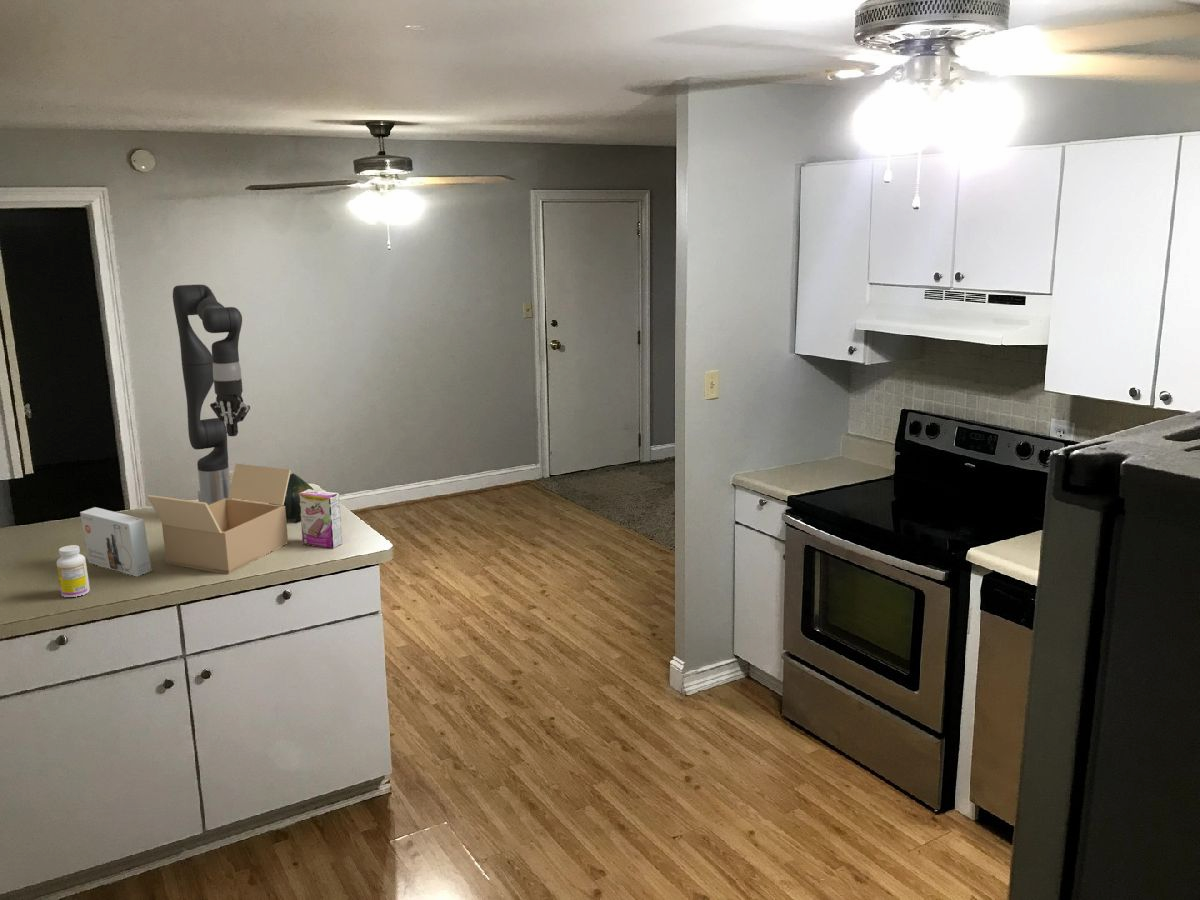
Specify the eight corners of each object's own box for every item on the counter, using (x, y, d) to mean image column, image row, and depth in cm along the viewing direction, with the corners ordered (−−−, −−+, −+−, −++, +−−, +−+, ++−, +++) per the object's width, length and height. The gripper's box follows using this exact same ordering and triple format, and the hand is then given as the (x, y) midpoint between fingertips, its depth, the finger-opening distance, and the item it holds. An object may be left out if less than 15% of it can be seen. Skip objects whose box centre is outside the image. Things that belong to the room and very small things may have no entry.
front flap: (164, 523, 265) (163, 525, 265) (148, 494, 259) (146, 496, 258) (221, 532, 259) (220, 533, 258) (206, 502, 252) (205, 504, 252)
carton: (166, 563, 269) (161, 523, 266) (229, 535, 292) (225, 498, 289) (229, 574, 262) (224, 533, 259) (288, 543, 285) (285, 506, 282)
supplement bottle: (68, 589, 251) (61, 543, 248) (94, 588, 251) (88, 543, 248) (56, 599, 244) (49, 552, 241) (83, 598, 245) (76, 552, 242)
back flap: (235, 463, 290) (237, 463, 291) (228, 497, 289) (229, 498, 289) (289, 469, 284) (290, 470, 284) (282, 505, 282) (283, 505, 283)
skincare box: (86, 564, 268) (78, 511, 264) (103, 558, 273) (96, 506, 269) (135, 578, 259) (128, 523, 254) (152, 571, 263) (146, 517, 259)
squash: (284, 513, 295) (305, 471, 301) (252, 507, 303) (274, 466, 309) (313, 532, 306) (333, 492, 312) (282, 526, 314) (302, 486, 320)
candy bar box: (301, 545, 284) (297, 493, 280) (311, 539, 289) (307, 488, 284) (333, 549, 280) (329, 497, 276) (343, 544, 285) (339, 492, 281)
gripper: (199, 377, 269) (205, 436, 274) (237, 381, 265) (242, 441, 270) (218, 373, 276) (223, 430, 281) (255, 376, 272) (260, 435, 276)
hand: (232, 435), depth 275 cm, fingers closed
